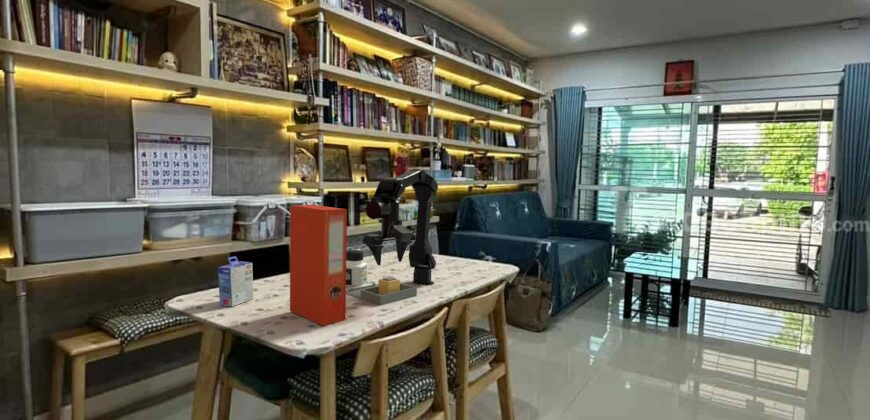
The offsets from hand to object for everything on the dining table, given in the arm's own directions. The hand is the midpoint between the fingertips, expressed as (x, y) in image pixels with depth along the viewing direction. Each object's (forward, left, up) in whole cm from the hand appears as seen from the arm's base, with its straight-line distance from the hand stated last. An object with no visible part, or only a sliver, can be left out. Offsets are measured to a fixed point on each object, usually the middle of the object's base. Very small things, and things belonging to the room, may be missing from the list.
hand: (389, 263), depth 155 cm
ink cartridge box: (+38, -30, -12) cm, 50 cm away
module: (0, 0, -11) cm, 11 cm away
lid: (0, -11, -12) cm, 16 cm away
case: (0, 0, -12) cm, 12 cm away
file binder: (+27, -1, -12) cm, 30 cm away
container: (-3, -23, -12) cm, 26 cm away
